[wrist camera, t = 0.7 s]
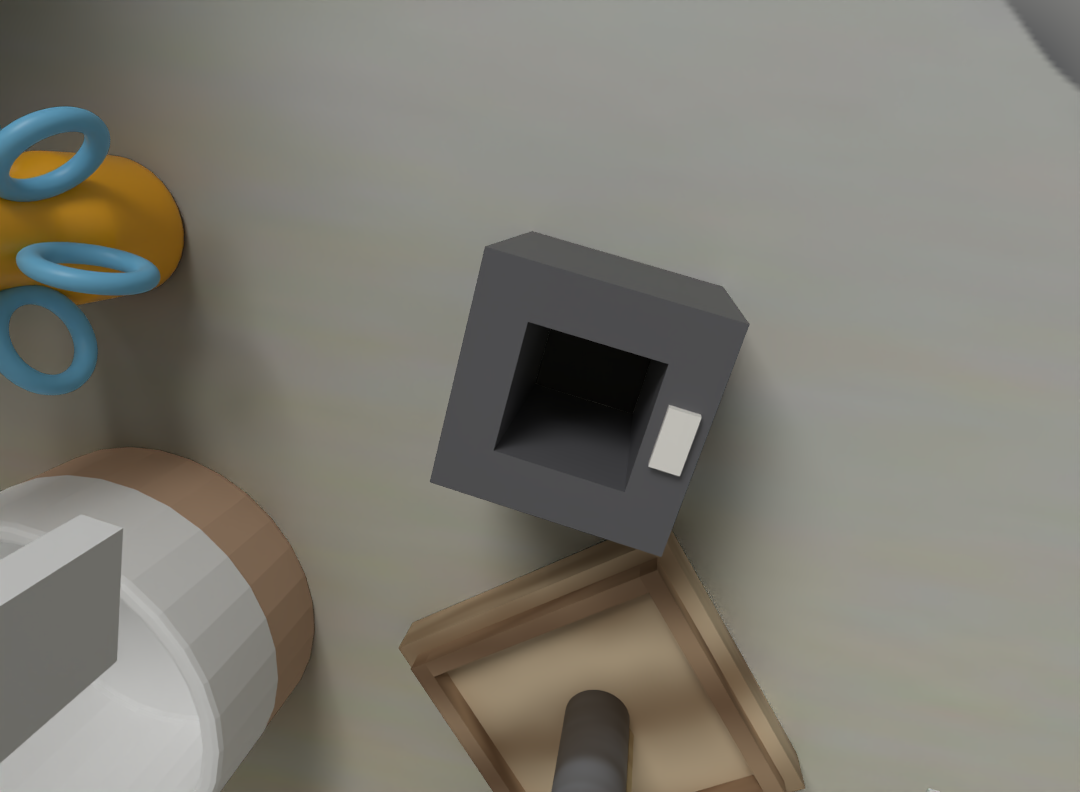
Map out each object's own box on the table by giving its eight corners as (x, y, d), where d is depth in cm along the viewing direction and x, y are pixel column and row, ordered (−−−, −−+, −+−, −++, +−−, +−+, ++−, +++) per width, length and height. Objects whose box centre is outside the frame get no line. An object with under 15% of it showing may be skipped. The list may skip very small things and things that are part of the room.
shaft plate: (412, 622, 34) (319, 788, 25) (663, 515, 30) (667, 664, 21) (548, 827, 36) (510, 1050, 27) (796, 753, 32) (854, 983, 23)
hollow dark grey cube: (486, 408, 30) (427, 485, 22) (532, 231, 27) (482, 247, 20) (660, 463, 29) (661, 561, 22) (722, 286, 27) (751, 326, 19)
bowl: (380, 604, 34) (297, 728, 26) (210, 773, 40) (100, 917, 32) (115, 376, 33) (-56, 434, 25) (-23, 583, 38) (-198, 685, 30)
